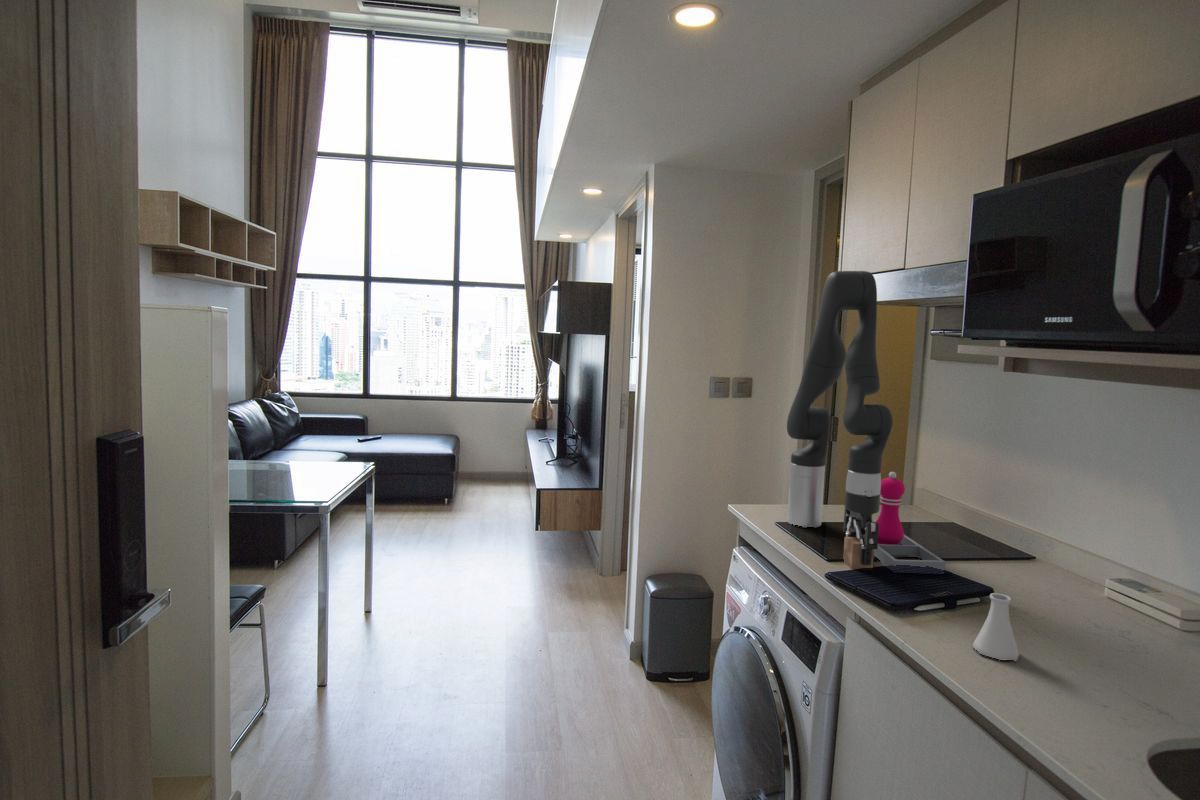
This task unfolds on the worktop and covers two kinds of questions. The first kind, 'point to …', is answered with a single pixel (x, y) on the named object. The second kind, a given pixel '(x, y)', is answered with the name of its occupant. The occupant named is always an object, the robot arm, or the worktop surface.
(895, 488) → the pepper mill
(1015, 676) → the worktop surface
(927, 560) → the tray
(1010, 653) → the flask
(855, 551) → the wooden block
